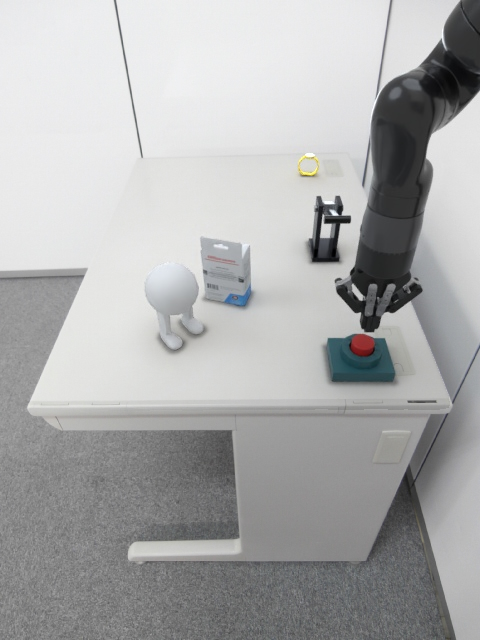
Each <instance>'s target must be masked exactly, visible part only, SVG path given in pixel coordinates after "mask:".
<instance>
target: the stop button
mask: <svg viewBox="0 0 480 640" xmlns="http://www.w3.org/2000/svg"><path fill="white" fill-rule="evenodd" d="M357 334H358V335H356V336H354V337H353V339H352V343H351V351H352V352H353V353H354V354H355V355H358V356H360V357H367V356H369V355H371V354H372V352H373V348H374V340H373V339H372V338H371V337H372V336H371V335H368V334H366V335H364V334H365V333H357ZM370 336H371V337H370Z"/></svg>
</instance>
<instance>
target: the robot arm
mask: <svg viewBox="0 0 480 640" xmlns="http://www.w3.org/2000/svg"><path fill="white" fill-rule="evenodd" d="M479 93H480V0H459V1H458V2H457V4H456V5H455V6H454V8H453V9H452V11H451V12H450V14H449V15H448V17H447V18H446V20H445V22H444V24H443V27H442V31H441V38H440V39H439V41H438V42H437V43H436V45H435V46H434V48H433V49H432V50H431V51H430V52H429V54H428V55H427V56H426V58H425V59H424V60H423V61H421V62H420V64H418V65H417V66H416V67H415V68H413V69H411V70H409V71H405V72H403V73H401V74H399V75H397V76H395V77H393V78H392V79H390V80H389V81H387V83H386V84H384V85H383V87H382V88H381V89H380V91H379V92H378V94H377V96H376V99H375V100H374V104H373V107H372V110H371V115H370V122H369V140H370V159H371V165H372V176H371V179H370V185H369V191H368V197H367V202H366V205H365V209H364V213H363V216H362V219H361V224H360V227H359V238H358V244H357V249H356V255H355V261H354V265H353V267H352V268H351V269H350V271H349V275H348V276H346V277H344V278H342V277H337V278H335V279H334V286H335V287H334V288H335V291H336V294H337V295H338V296H339V298H341V300H342V301H343V302H344V303H345V304H346V305H347V307H349V308H350V310H351V311H352V312H353V313H354V314H360V316H359V324H360V325H359V326H360V329H361V330H363V332H364V333H375V331H376V330H378V329H379V328H380V325H381V321H382V317H383V316H384V314H385V313H389V314H395V313H396V312H398V311H399V310H400V309H402V308H403V307H404V306H406V305H407V304H409V303H410V302H412V301H413V300H414V299H415V298H416V297H418V296H419V295H420V294H422V293H423V292H424V291H423V290H424V289H423V286H422V284H421V281H420V280H419V278H418V277H412V273H411V269H412V265H413V262H414V258H415V254H416V250H417V247H418V244H419V239H420V237H421V232H422V228H423V224H424V215H425V210H426V206H427V203H428V199H429V195H430V191H431V188H432V185H433V180H434V167H433V164H432V162H431V161H430V160H429V159H428V158H427V154H428V153H427V152H428V147H429V143H430V140H431V137H432V135H433V134H435V133H437V132H438V131H440V130H442V129H443V128H444V127H446V126H447V125H448V124H450V123H451V122H452V121H453V120H454V119H455V118H456V117H457V116H458V115H459V114H460V113H462V111H464V109H465V108H466V107H467V106H468V105H469V104H470V103H471V102H472V101H473V100H474V98H475V97H477V95H478V94H479ZM353 285H354V287H355V288H356V289H357V291H358V292H359V293H360V294H361V296H362V300H361V299H360V298H359V297H358V296H357V294H355V292H354V290H353Z"/></svg>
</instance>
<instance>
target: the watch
mask: <svg viewBox="0 0 480 640" xmlns="http://www.w3.org/2000/svg"><path fill="white" fill-rule="evenodd" d="M306 159H307V160H314V161H315V162H316V164H317V166H316V168H315V170H314V171H313V172H306V171H303V170H302V169H301V166H300V165H301V162H303V160H306ZM297 169H298V172H299V173H300V174H301V175H302V176H303V175H304V176H309V177H310V176H311V177H312V176H314V175H316V174H317V173H318V171H319V169H320V162H319V159H318V157H316V155H315V154H314V153H311V152H307V153H305V154H304V155H303V156H301V158H300V159H299V160H298V164H297Z"/></svg>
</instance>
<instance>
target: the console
mask: <svg viewBox="0 0 480 640" xmlns="http://www.w3.org/2000/svg"><path fill="white" fill-rule="evenodd" d="M358 334H359V333H352V334H349V335H347V336H346V337H327V340H326V345H325V347H326V352H327V353H326V354H327V360H328V365H329V372H330V377H331V381H332V382H379V383H380V382H382V383H384V382H388V383H389V382H391V383H393V382H394V379H395V376H396V370H395V367H394V364H393V360H392V356H391V353H390V350H389V347H388V343H387V340H386V338H385V337H374V336H371V335H369V336H370V337H371V338H372V339H373V340H374V348H373V352H372V354H371V355H369V356H367V357H360V356H358V355H355V354H354V353H353V352H352V351H351V343H352V339H353V337H354V336H356V335H358ZM363 334H364V335H367V334H366V333H363Z"/></svg>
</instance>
